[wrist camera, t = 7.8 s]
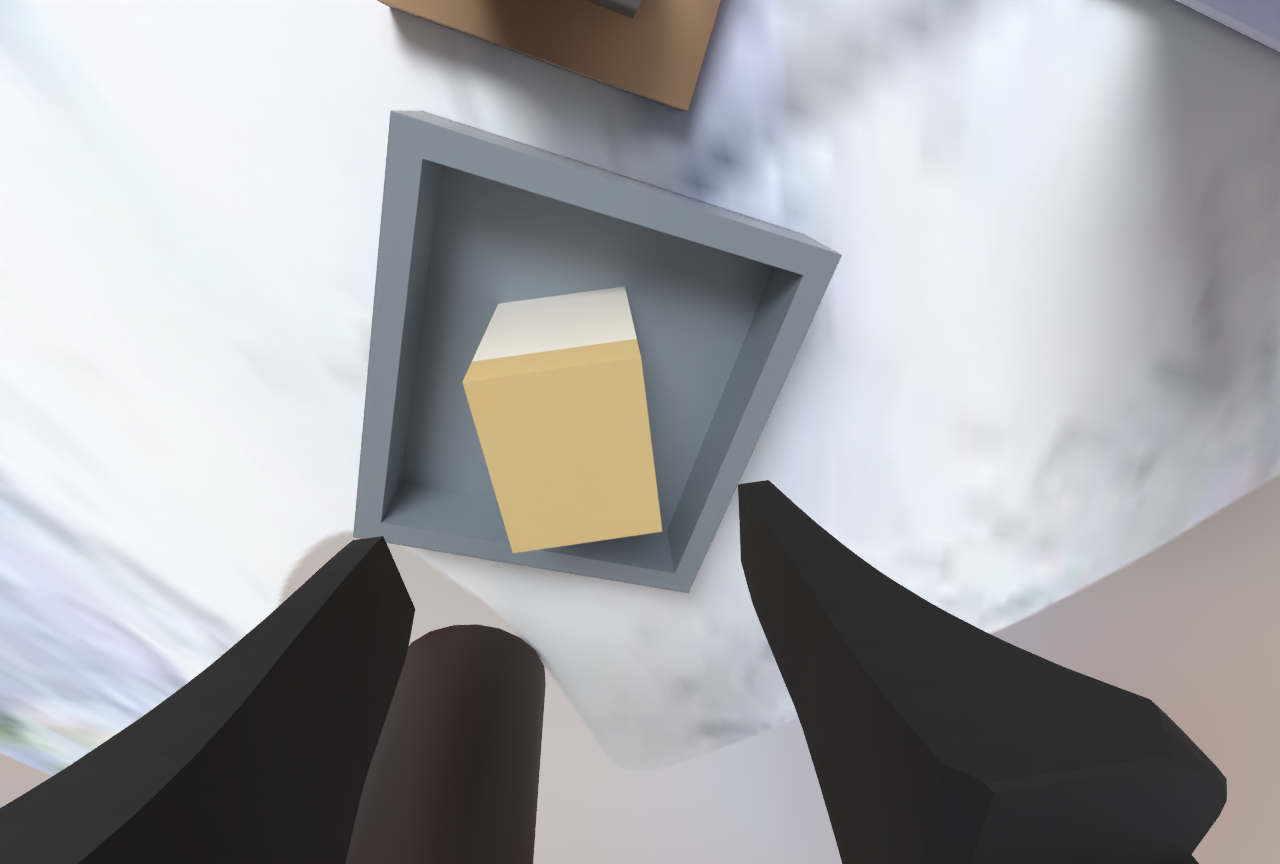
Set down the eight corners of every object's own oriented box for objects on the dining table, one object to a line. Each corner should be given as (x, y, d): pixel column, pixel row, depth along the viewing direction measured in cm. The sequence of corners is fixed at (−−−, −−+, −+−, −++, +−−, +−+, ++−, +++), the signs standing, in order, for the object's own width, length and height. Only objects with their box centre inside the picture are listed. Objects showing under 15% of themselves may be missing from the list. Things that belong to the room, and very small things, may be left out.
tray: (805, 234, 18) (841, 255, 16) (677, 540, 24) (688, 592, 21) (422, 111, 16) (390, 110, 13) (381, 485, 21) (353, 537, 19)
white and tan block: (624, 286, 18) (640, 357, 13) (642, 424, 20) (662, 531, 15) (498, 303, 18) (462, 381, 13) (531, 440, 20) (512, 553, 15)
